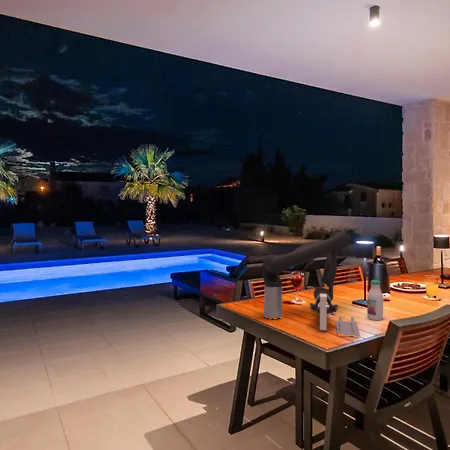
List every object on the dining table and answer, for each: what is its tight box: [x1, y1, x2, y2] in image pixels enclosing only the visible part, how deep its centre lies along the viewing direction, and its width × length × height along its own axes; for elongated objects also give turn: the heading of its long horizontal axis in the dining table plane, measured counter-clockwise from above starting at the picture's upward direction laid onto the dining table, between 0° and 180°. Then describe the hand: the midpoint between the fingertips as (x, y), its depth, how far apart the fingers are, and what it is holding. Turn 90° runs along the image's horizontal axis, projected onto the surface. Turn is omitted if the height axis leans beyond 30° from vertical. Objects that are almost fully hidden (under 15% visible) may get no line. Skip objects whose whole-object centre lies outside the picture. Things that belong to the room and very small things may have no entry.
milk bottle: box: [366, 279, 384, 321], centre depth 208 cm, size 8×8×20 cm
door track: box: [335, 315, 361, 337], centre depth 192 cm, size 10×20×4 cm, turn 166°
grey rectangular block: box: [319, 294, 328, 331], centre depth 191 cm, size 3×6×16 cm, turn 166°
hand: (323, 311), depth 188 cm, fingers closed on grey rectangular block, 3 cm apart
